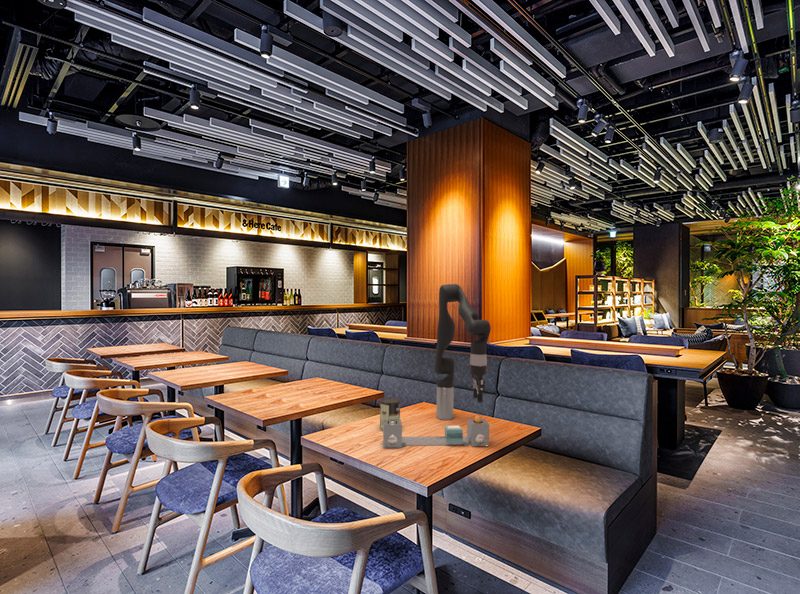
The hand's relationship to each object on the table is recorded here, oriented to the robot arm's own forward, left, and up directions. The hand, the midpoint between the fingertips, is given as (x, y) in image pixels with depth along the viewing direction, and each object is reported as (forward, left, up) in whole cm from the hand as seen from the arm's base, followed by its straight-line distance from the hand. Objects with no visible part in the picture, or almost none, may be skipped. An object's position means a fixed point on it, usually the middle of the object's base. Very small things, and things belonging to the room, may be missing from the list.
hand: (477, 399), depth 189 cm
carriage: (0, -11, -19) cm, 21 cm away
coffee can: (-23, -39, -20) cm, 49 cm away
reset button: (0, 0, -12) cm, 12 cm away
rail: (0, -20, -20) cm, 28 cm away
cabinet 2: (0, 0, -20) cm, 20 cm away
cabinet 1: (0, -39, -20) cm, 44 cm away
